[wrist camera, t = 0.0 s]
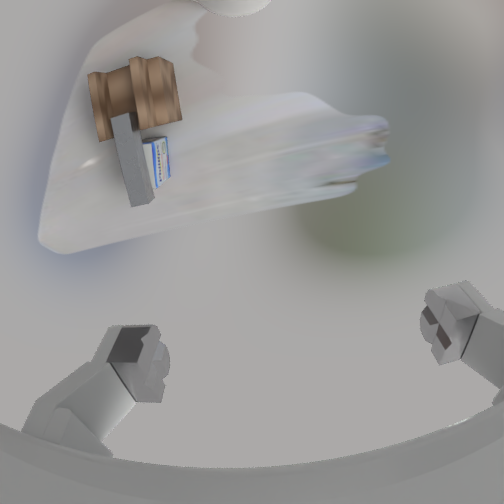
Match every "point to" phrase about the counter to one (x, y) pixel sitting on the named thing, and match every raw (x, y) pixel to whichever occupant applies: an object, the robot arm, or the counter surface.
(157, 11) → the counter surface
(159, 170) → the medicine box
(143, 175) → the grey square bar
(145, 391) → the robot arm
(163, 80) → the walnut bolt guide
